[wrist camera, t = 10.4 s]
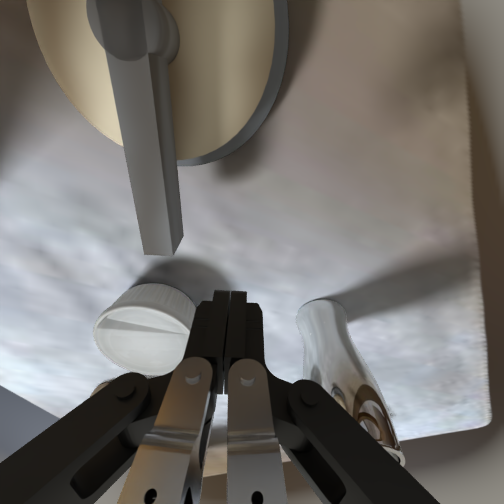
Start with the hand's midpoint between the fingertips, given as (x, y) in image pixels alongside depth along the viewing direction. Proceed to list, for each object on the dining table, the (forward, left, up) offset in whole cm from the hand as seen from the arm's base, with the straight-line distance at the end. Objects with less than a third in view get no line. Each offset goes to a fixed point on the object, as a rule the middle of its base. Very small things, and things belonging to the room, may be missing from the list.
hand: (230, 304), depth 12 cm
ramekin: (-18, +1, -14) cm, 23 cm away
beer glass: (-8, -16, -14) cm, 23 cm away
